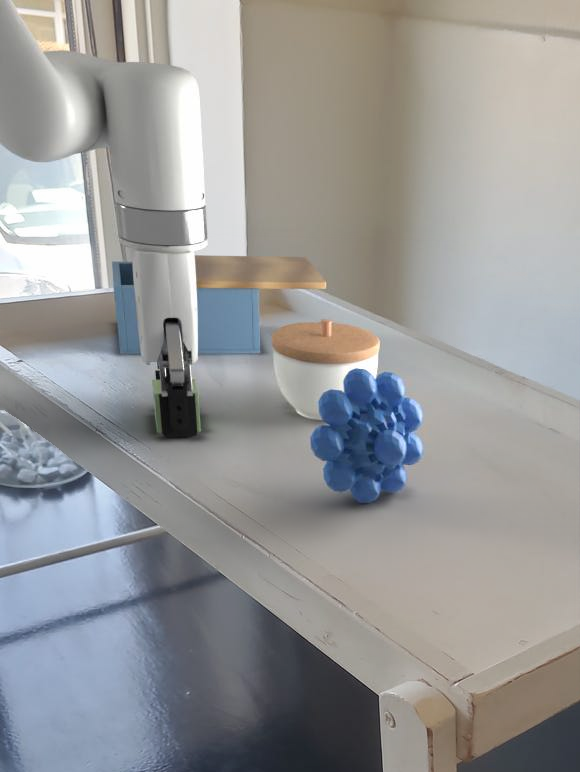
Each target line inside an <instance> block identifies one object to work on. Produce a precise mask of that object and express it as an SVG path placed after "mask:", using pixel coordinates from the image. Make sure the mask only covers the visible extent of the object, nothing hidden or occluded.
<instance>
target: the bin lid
mask: <svg viewBox="0 0 580 772" xmlns="http://www.w3.org/2000/svg"><path fill="white" fill-rule="evenodd" d="M195 269H196V288H242V289H258V290H259V289H260V290H262V289H263V290H266V289H267V290H275V289H276V290H326V289H327V282H326V280H325V279H324V277H322V275H321V274H320V272H319V271H318V270H317V269H316V268H315V266H314V265H313V263H312V262H311V261H310V260H309V259H308V257H306V256H260V255H259V256H255V255H206V254H205V255H204V254H203V255H199V254H195Z"/></svg>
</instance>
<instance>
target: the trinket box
mask: <svg viewBox="0 0 580 772" xmlns="http://www.w3.org/2000/svg"><path fill="white" fill-rule="evenodd" d="M380 344H381V342H380V339H379V337H378V336H377V335H376V334H375V333H373V332H371V331H370V330H367V329H364V328H361V327H358V326H354V325H349V324H345V323H337V322H332V319H330V318H329V319H328V318H323V319H320V321H309V322H297V323H292V324H286V325H284V326H281V327H279V328H277V329H275V330H274V331H273V332H272V334H271V347H272V359H273V370H274V374H275V379H276V383H277V386H278V388H279V390H280V392H281V394H282V396H283V397H284V399H285V400H286V401H287V403H288V404H289V405H291V406H292V407H293V408H294V409H295V411H296V413H297V414H299V415H300V416H302V417H304V418H307V419H310V420H316V421H323V420H322V418H321V416H320V414H319V406H318V401H319V399H320V397H321V396H322V394H323V393H324V392H326V391H328V390H330V389H333V390H341V391H342V392H344V383H343V380H344V378H345V376H346V375H347V373H348V372H349V371H351V370H353V369H355V368H359V369H366V370H367V371H369V372H370V373H371V374H373V376H374V378H375V379H376V377H377V373H378V365H379V352H380V347H381V345H380Z"/></svg>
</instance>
